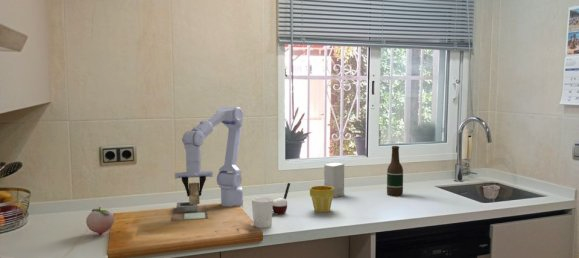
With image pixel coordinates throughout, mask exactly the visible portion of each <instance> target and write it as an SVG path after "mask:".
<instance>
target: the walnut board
mask: <svg viewBox="0 0 579 258" xmlns="http://www.w3.org/2000/svg"><path fill="white" fill-rule="evenodd" d="M197 206H198V205H197ZM203 212H205V218H204V219H203V220H209V216H208V207H207V205H199V206H198V212H191V213H203ZM184 214H187V213H176V207H172V212H171V217H170V222H181V221H183V222H184V221H186V220H184ZM195 220H196V221H197V220H199V221H200V220H202V219H188V220H187V221H195Z"/></svg>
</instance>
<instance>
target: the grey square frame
mask: <svg viewBox="0 0 579 258" xmlns="http://www.w3.org/2000/svg"><path fill="white" fill-rule="evenodd" d="M175 208H176V213H191V212H198V204H197V205H190V204H189V201H181V202H176V207H175Z"/></svg>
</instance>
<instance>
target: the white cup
mask: <svg viewBox="0 0 579 258" xmlns="http://www.w3.org/2000/svg"><path fill="white" fill-rule="evenodd" d="M273 201H274V198H271V197H269V196H268V197H266V196H260V197H253V198H252V199H251V206H252V207H251V209H252V220H253V227H255V228H260V229H266V228H271V226H272V225H273V224H272V222H273V221H272V220H273V212H272V211H273Z"/></svg>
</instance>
